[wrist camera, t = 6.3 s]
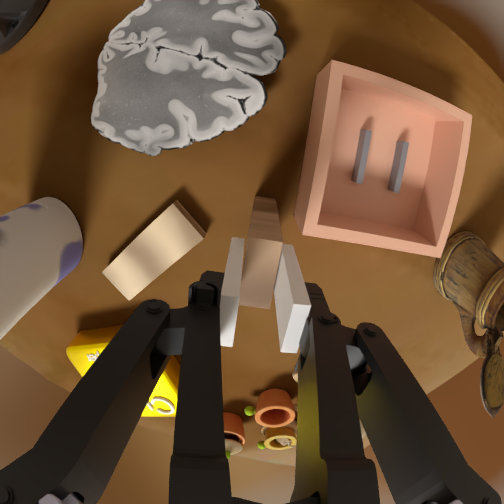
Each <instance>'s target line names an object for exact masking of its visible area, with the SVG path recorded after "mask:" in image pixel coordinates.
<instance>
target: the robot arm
mask: <svg viewBox="0 0 504 504" xmlns="http://www.w3.org/2000/svg"><path fill="white" fill-rule="evenodd" d="M47 1H48V0H0V54H2V53H4V52H6V51H7V50H9V49H10V48H12V47H13V46H14V45H15V44H16V43H17V42H18V41H19V40H20V39H21V38H22V37H23V36H24V35H25V34H26V32H27V31H28V30H29V29H30V27H31V26H32V25H33V23H34V22H35V21H36V19H37V18H38V16H39V15H40V13H41V12H42V10H43V8H44V7H45V5H46V3H47ZM244 240H245V239H244V238H236V237H232V240H231V245H230V250H229V255H228V260H227V265H226V270H225V273H221V272H214V271H206V272H204V273H203V274H202V275H201V278H200V281H197V282H194V283H192V284H191V285H190V287H189V297H188V306H186V307H184V308H179V309H170V307H169V305H168V304H167V303H166V302H164V301H161V300H156V299H152V300H147V301H144V302H143V303H141V304H140V305H139V306H138V307H137V309H136V310H135V311H134V312H133V314H132V315H131V316H130V317H129V318H128V320H127V321H126V322H125V323H124V325H123V326H122V327H121V328H120V330H119V331H118V332H117V333H116V335H115V336H114V337H113V338H112V340H111V341H110V342H109V343H108V345H107V346H106V347H105V349H104V350H103V351H102V352H101V354H100V355H99V356H98V358H97V359H96V360H95V361H94V363H93V364H92V365H91V367H90V368H89V369H88V371H87V372H86V373H85V375H84V376H83V377H82V379H81V380H80V381H79V383H78V384H77V385H76V387H75V388H74V389H73V391H72V392H71V394H70V395H69V396H68V398H67V399H66V400H65V402H64V403H63V405H62V406H61V407H60V409H59V410H58V412H57V413H56V415H55V416H54V417H53V419H52V420H51V422H50V423H49V425H48V426H47V428H46V429H45V431H44V432H43V433H42V435H41V437H40V438H39V440H38V441H37V443H36V444H35V445H34V447H33V448H32V449H31V450H29V451H28V452H27V453H25V454H24V455H22V456H21V457H19V458H18V459H16V460H15V461H14V462H12V463H11V464H9V465H8V466H6V467H5V468H3V469H2V470H0V504H96V503H97V502H98V500H99V499H100V497H101V496H102V494H103V492H104V490H105V488H106V486H107V484H108V482H109V480H110V478H111V476H112V474H113V472H114V470H115V467H116V466H117V463H118V461H119V459H120V457H121V455H122V453H123V451H124V449H125V447H126V445H127V443H128V441H129V439H130V437H131V435H132V433H133V431H134V429H135V427H136V425H137V423H138V421H139V419H140V417H141V415H142V413H143V411H144V409H145V407H146V405H147V403H148V401H149V399H150V397H151V395H152V393H153V391H154V389H155V387H156V385H157V383H158V381H159V379H160V377H161V376H162V374H163V372H164V370H165V368H166V366H167V364H168V362H169V360H170V358H171V355H180V354H182V357H181V366H180V375H179V384H178V395H177V406H176V418H175V431H174V446H173V454H172V456H171V462H170V478H169V504H261V503H257V502H252V501H249V500H244V499H241V498H236V497H232V496H231V485H230V472H229V463H228V459H227V457H226V450H225V434H224V416H223V396H222V372H221V346H228V347H232V346H233V339H234V332H235V325H236V318H237V311H238V304H239V297H240V285H241V274H242V262H243V251H244ZM274 295H275V304H276V313H277V323H278V332H279V342H280V351H281V352H287V353H297V350H298V347H299V345H300V351H301V352H300V355H299V358H298V361H297V364H296V366H295V370H294V371H297V368H298V412H297V446H296V470H295V486H294V490H293V493H292V496H291V500H290V503H286V504H380V498H379V489H378V480H377V473H376V467H375V464H374V462H373V461H372V460H371V459H366V457H365V455H364V449H363V441H362V434H361V427H360V421H361V423H362V425H363V428H364V430H365V432H366V434H367V437H368V439H369V441H370V444H371V446H372V448H373V451H374V453H375V455H376V458H377V460H378V463H379V465H380V467H381V470H382V472H383V474H384V477H385V479H386V482H387V484H388V487H389V489H390V492H391V494H392V496H393V499H394V501H395V503H396V504H501V498H500V496H499V494H498V493H497V492H496V491H495V490H494V489H493V488H492V487H491V486H490V485H489V484H488V483H486V481H484V480H483V479H482V478H481V477H480V476H479V475H478V474H477V473H476V472H475V471H474V470H473V469H472V468H471V467H470V466H468V464H467V462H466V461H465V459H464V457H463V455H462V453H461V451H460V450H459V448H458V446H457V445H456V443H455V441H454V439H453V438H452V436H451V434H450V433H449V431H448V430H447V428H446V426H445V424H444V423H443V421H442V419H441V418H440V416H439V414H438V413H437V411H436V410H435V408H434V406H433V405H432V403H431V402H430V400H429V398H428V397H427V395H426V394H425V392H424V391H423V389H422V388H421V386H420V385H419V383H418V381H417V380H416V378H415V377H414V375H413V374H412V372H411V371H410V369H409V368H408V366H407V365H406V364H405V362H404V361H403V359H402V358H401V356H400V355H399V353H398V352H397V350H396V349H395V348H394V346H393V345H392V343H391V342H390V340H389V339H388V338H387V336H386V335H385V333H384V332H383V331H382V330H381V328H380V327H378V326H376V325H375V324H372V323H366V322H364V323H360V324H359V325H358V326H357V329H352V328H349V327H346V326H343V325H341V321H340V319H339V318H338V317H337V316H336V315H335V314H333V313H331V312H330V310H329V307H328V305H327V302H326V300H325V297H324V296H323V295H324V294H323V292H322V289H321V288H320V287H319V286H318V285H317V284H315V283H306V282H304V280H303V276H302V273H301V270H300V267H299V263H298V260H297V257H296V254H295V251H294V247H293V245H287V244H282V249H281V255H280V260H279V265H278V270H277V275H276V280H275V285H274ZM369 366H370V368H371V372H370V371H369V369H368V367H369ZM359 418H360V421H359Z"/></svg>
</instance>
